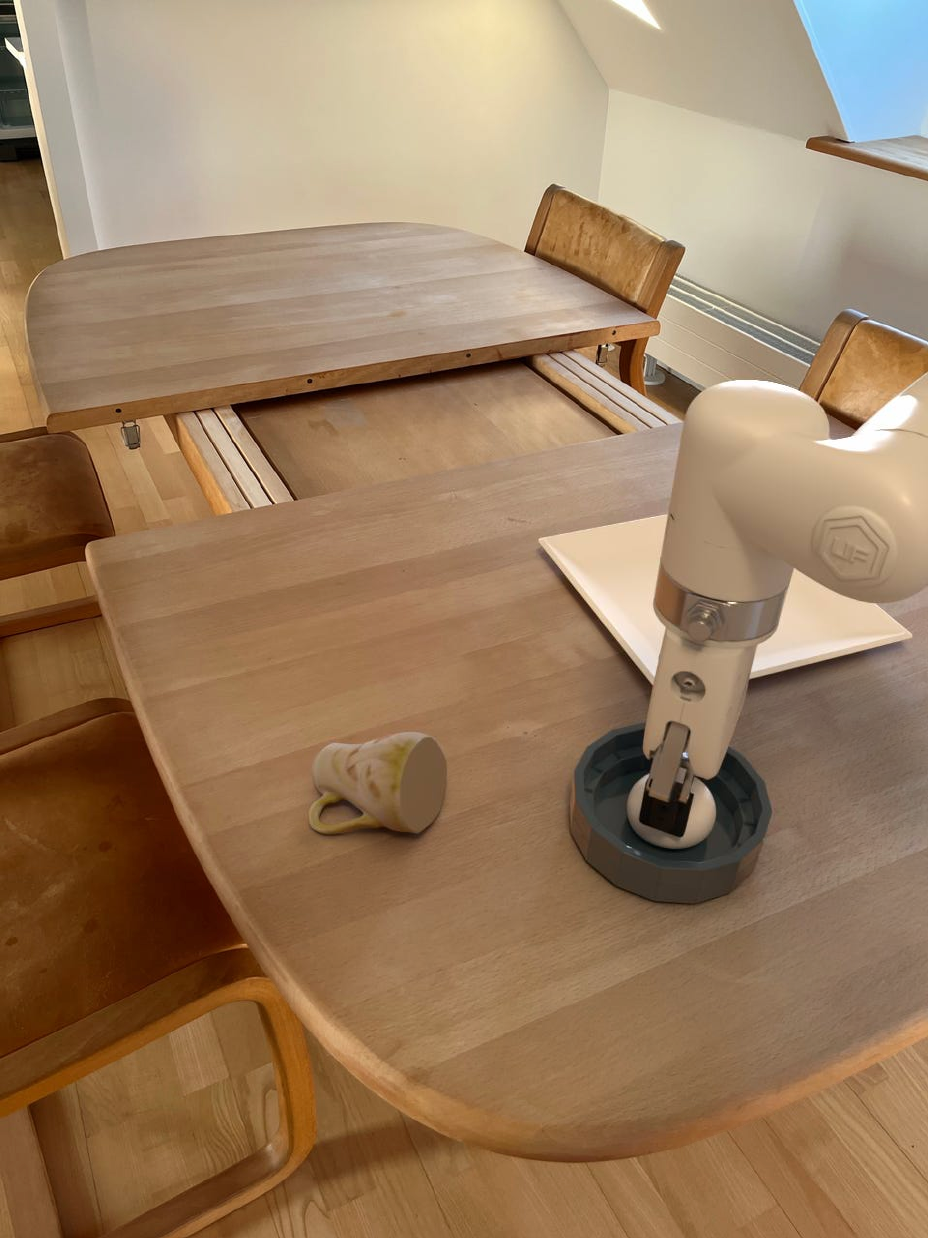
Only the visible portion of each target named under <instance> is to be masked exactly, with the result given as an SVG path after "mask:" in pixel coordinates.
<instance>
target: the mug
mask: <svg viewBox="0 0 928 1238" xmlns="http://www.w3.org/2000/svg"><path fill="white" fill-rule="evenodd" d="M446 759H447V758H446V756H445V754H444V751H443V749H442V747H441V745H440V743H439V742H438V740H437V739H436V738H434V737H433V736H431V735H429V734H426V733H422V732H420V731H419V732H418V731H399V732H395V733H394V732H393V733H391V734H387V735H384V736H382V737H378V738H376V739H373V740H370V741H366V742H362V743H358V744H357V743H356V744H355V743H354V744H352V743H341V742H340V743H339V742H332V743H330V744H328V745H326V746H325V747H323V748H322V749H321V750H320V751H319V752H318V753H317V755H316V756H315V758H314V760H313V762H312V765H311V777H312V781H313V783H314V785H315V787H316V789H317V790H318V792H319V793H320V794H321V795H322V796H321V797H319V798H318V799H317V800H315V801H314V802H313V803H312V804H311V806H310V808H309V810H308V824H309V826H310V827H311V829H312V830H314V831H315V832H317V833H320V834H324V835H338V834H342V833H347V832H350V831H354V830H359V829H377V828H380V827H385V828H387V829H388V830H391V831H395V832H402V833H411V834H420V833H421V832H423V831H424V830H425V829H426V828H427V827H429V826H431V825H432V824H433V823H434V821H435V820H436V818H437V817H438V815H439V814H440V811H441V809H442V808H441V807H442V805H443V802H444V799H445V794H446V789H447V776H448V762H447V760H446ZM341 801H347V802H349V803H350V804H352V805H353V806H354V807H355V808H357V809H358V810H359V811H360V812H361V813H362V815H361V816H359V817H357V818H352V819H350V820H347V821H343V822H340V823H335V824H325V823H323V822H321V820H320V816H321V813H322V810H323V809H324V808H325V806H326V805H328V804H333V803H338V802H341Z"/></svg>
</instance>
